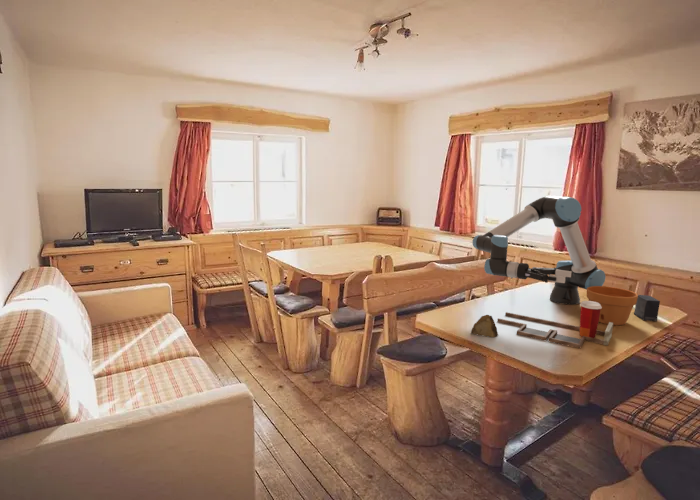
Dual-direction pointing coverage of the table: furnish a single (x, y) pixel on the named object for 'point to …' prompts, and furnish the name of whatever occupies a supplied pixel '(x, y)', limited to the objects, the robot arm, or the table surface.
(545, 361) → the table surface
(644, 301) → the small box
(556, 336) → the channel
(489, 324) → the rock
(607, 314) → the flower pot
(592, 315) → the coffee cup
